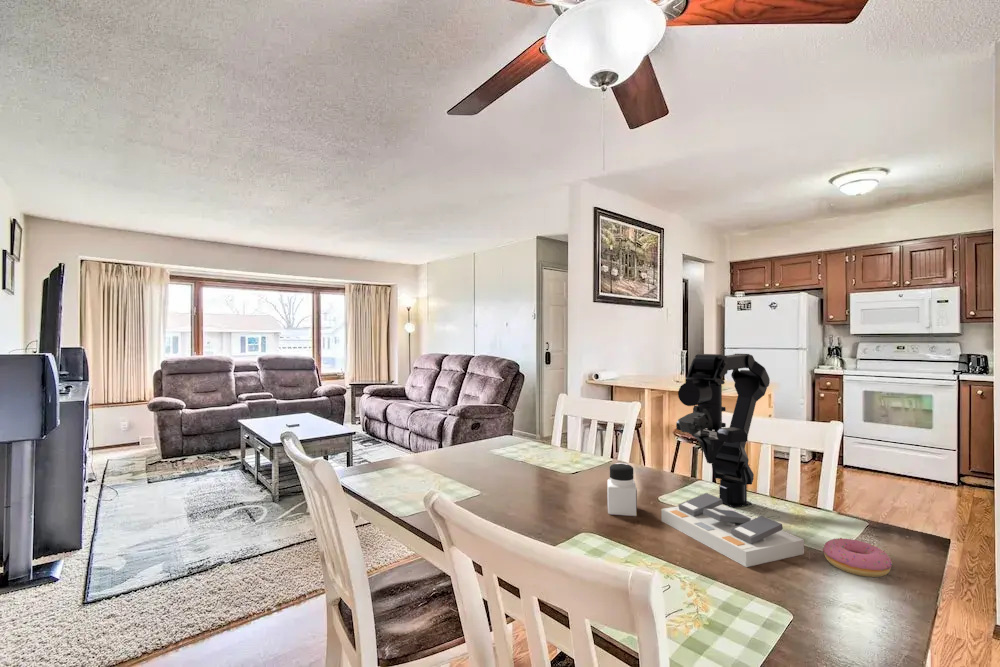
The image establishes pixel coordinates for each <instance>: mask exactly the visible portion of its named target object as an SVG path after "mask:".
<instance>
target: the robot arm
mask: <svg viewBox="0 0 1000 667" xmlns="http://www.w3.org/2000/svg"><path fill="white" fill-rule="evenodd" d="M728 371H732V373H731V374H730V376H731V378H732V380H733V381H734V388H735V391H736V393H737V398H736V402H735V405H734V410H733V414H732V417H731V421H730V425H729V427H727V426H726V425H727V424H726V423H725V422H723V421H722V420H723V412H726V411H727V410H726V406H723V402H722V401H723V399H722V398H723V397H722V396H723V395H722V393H723V390H722V386H723V385H724V384H725V381H724V379H722V378H723V376H725V375H727V374H728ZM770 384H771V383H770V376H769V374H768V372H767V370H766V368H765V366H763V365H762V364H760V363H759V362H758V361H756V360H755V358H754V356H753V355H752V354H750V353H733V354H729V355H724V354H722V353H721V354H720V353H719V354H718V353H717V354H716V353H697V354H695V356H694V358H693V360H692V362H691V364H690V367H689V369H688V372H687V375H686V378H685V382H684V383H683V384H681V385H680V386H679V389H678V391H677V395H678V396H677V397H678V399H679V401H680V403H682V404H683V405H685V406H686V407H692V412H690V413H687V414H686V415H684V416H682V417H680V418H678V419H677V421H676V423H675V424H676V427H675V428H676V429H675V430H678V431H681V432H682V433H688V434H689V435H690V436H691V437H693V438H694V439H696V441H698V442H699V443H700V447H701V448H702V452H703V455H704V457H705V460H706V463H707V464H711V468H712V473H713V476H714V479H718V480H719V481H720V482H719V487H718V488H719V489H718V490H719V498H720V499H722V502H723V504H725V505H727V506H730V507H731V508H739V507H745V506H747V507H748V506H752V504H753V503H752V502H750V501H748V498H747V496H748V493H747V490H748V489H747V487H748V485H753V482H754V479H755V478H754V472H753V471H752V468H751V467H750V464H749V457H748V454H747V451H746V445H747V442H748V441H749V440H748V438H749V437H748V436H749V433H750V428H751V424H752V420H753V416H754V412H755V409H756V405H757V402H758V401H759V400H761V398H762V397H763V396H765V395H766V392H767V389H768V388H769V386H770Z"/></svg>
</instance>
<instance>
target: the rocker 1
mask: <svg viewBox="0 0 1000 667" xmlns="http://www.w3.org/2000/svg"><path fill="white" fill-rule="evenodd" d="M723 504H724V503H723V502H722V499H720V497H719V496H718V497H717V496H715V495H713V494H710V493H707V492H706V493H702V494H700V495H698V496H695V497H693V498H691V499H689V500H686V501H684V502H682V503H679V504H678V506H679V510H681V511H683V512H686V513H688V514H690V515H692V516H694V517H695V516H697V515H699V514H701V513H703V508H705V509H713V508H715V507H717V506H719V505H723Z"/></svg>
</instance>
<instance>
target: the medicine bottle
mask: <svg viewBox="0 0 1000 667" xmlns="http://www.w3.org/2000/svg"><path fill="white" fill-rule="evenodd" d="M606 481H607V482H606V483H607V484H606V488H607V493H606V494H607V514H608V515H611V516H612V515H615V516H627V517H629V516H631V517H637V516H638V509H637V508H638V496H637V495H638V493H637V492H638V489H637V487H636V482H635V480H634V467H633V466H632V465H630V464H628V463H622V462H621V463H620V462H617V463H613V464H610V465H609V478H608V479H607V480H606Z"/></svg>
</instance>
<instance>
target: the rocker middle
mask: <svg viewBox="0 0 1000 667" xmlns="http://www.w3.org/2000/svg"><path fill="white" fill-rule="evenodd" d="M735 511H736V510H735ZM735 511H729V510H717V509H705V508H703V514H705V515H707V516H709V517H711V518H713V519H715V520H718V521H720V522H733V523H746V522H748V521H750V520H751V518H752V517H751V518H749V517H750V516H749V517H746V516H744V515H745V514H744V515H742V514H743V513H742V514H739V513H740V512H739V513H737V512H738V511H737V512H735Z"/></svg>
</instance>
